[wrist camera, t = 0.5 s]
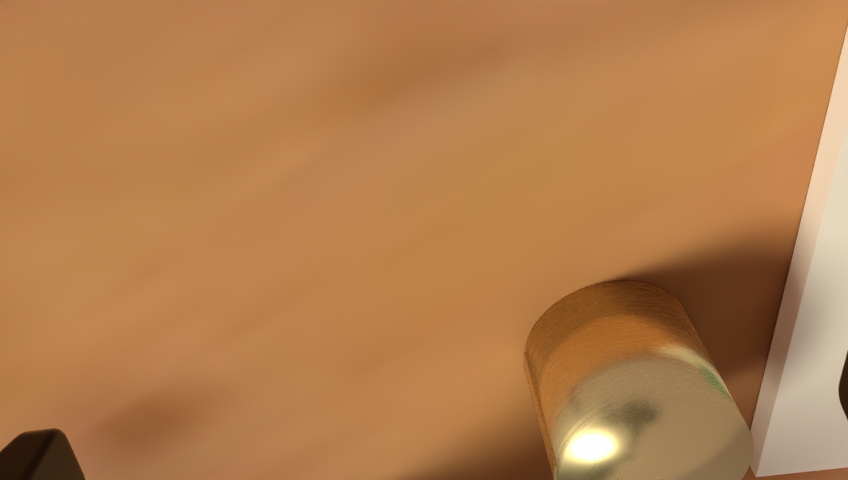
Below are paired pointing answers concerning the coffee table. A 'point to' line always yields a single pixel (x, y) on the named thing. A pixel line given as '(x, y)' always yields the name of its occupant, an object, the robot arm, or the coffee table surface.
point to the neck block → (812, 320)
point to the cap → (631, 390)
